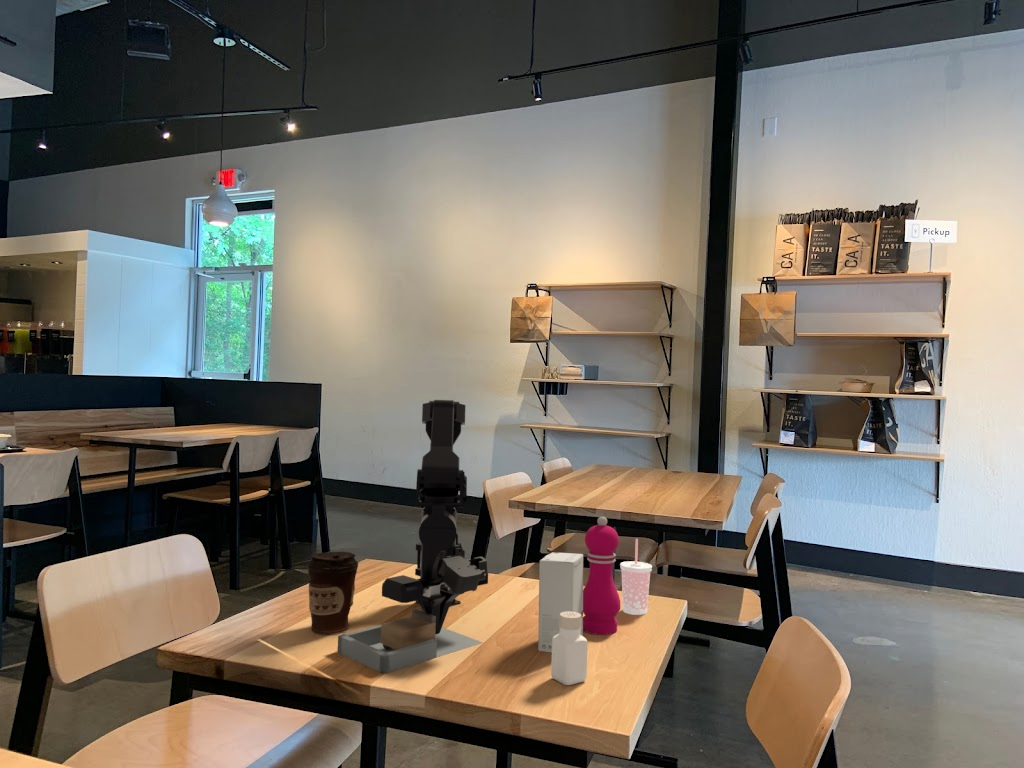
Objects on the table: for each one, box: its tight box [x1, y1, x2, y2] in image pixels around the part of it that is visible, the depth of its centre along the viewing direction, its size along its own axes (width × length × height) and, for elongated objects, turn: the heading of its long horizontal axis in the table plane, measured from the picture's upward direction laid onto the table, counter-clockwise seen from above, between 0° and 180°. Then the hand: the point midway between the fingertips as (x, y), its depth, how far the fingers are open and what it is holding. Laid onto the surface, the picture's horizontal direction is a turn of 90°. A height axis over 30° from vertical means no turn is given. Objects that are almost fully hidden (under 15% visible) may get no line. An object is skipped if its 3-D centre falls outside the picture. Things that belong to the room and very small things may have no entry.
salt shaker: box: [550, 611, 588, 686], centre depth 106 cm, size 4×4×10 cm
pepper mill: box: [583, 516, 622, 636], centre depth 129 cm, size 7×7×20 cm
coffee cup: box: [307, 551, 359, 636], centre depth 124 cm, size 9×8×13 cm
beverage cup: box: [619, 538, 653, 616], centre depth 141 cm, size 6×6×14 cm
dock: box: [337, 624, 484, 675], centre depth 116 cm, size 20×12×3 cm, turn 136°
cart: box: [380, 608, 436, 650], centre depth 116 cm, size 7×5×5 cm
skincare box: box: [537, 551, 584, 653], centre depth 120 cm, size 8×6×15 cm
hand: (435, 633), depth 120 cm, fingers closed
